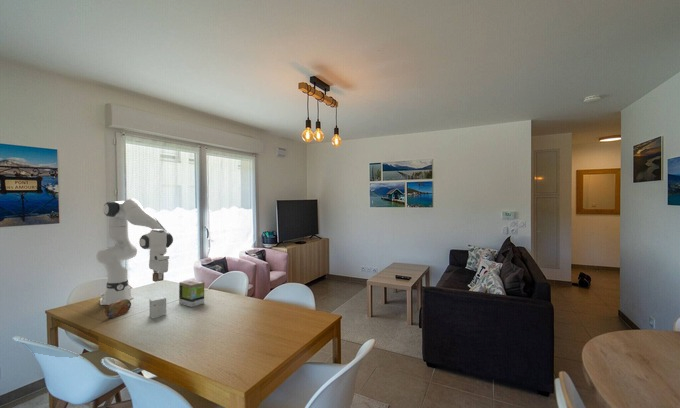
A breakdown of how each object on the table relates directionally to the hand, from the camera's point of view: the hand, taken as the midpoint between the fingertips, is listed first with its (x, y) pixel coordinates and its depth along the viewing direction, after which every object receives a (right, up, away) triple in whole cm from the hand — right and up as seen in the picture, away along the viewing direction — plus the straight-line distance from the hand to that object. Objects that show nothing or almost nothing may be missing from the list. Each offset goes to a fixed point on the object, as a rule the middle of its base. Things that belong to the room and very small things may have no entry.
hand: (158, 277), depth 176 cm
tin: (-25, -23, +1) cm, 34 cm away
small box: (0, -23, 0) cm, 23 cm away
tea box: (+10, -24, +22) cm, 33 cm away
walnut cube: (0, -2, 0) cm, 2 cm away
